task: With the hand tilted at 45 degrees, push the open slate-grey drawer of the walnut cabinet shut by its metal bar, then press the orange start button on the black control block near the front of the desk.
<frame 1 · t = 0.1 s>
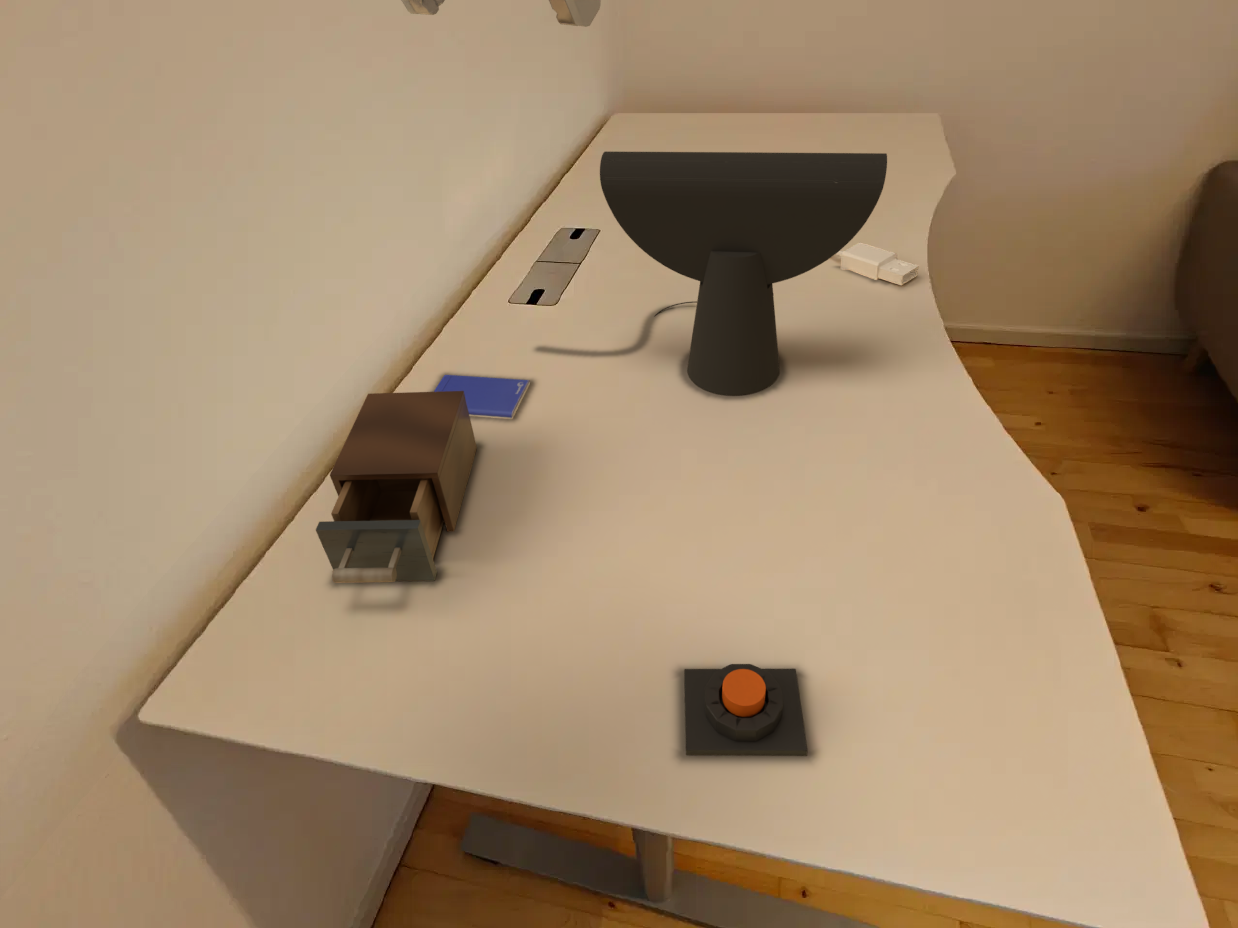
hand: (502, 11, 40), 55 cm above the table, tool tilted 30°, fingers open, 8 cm apart
table lamp: (692, 363, 114), on the table
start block: (742, 718, 71), on the table
cabinet: (419, 493, 96), on the table
start button: (743, 692, 69), point 4 cm above the table, slide at 0.1 cm
drawer: (388, 523, 86), point 5 cm above the table, slide at 6.0 cm
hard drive: (479, 403, 110), on the table
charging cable: (826, 258, 135), on the table
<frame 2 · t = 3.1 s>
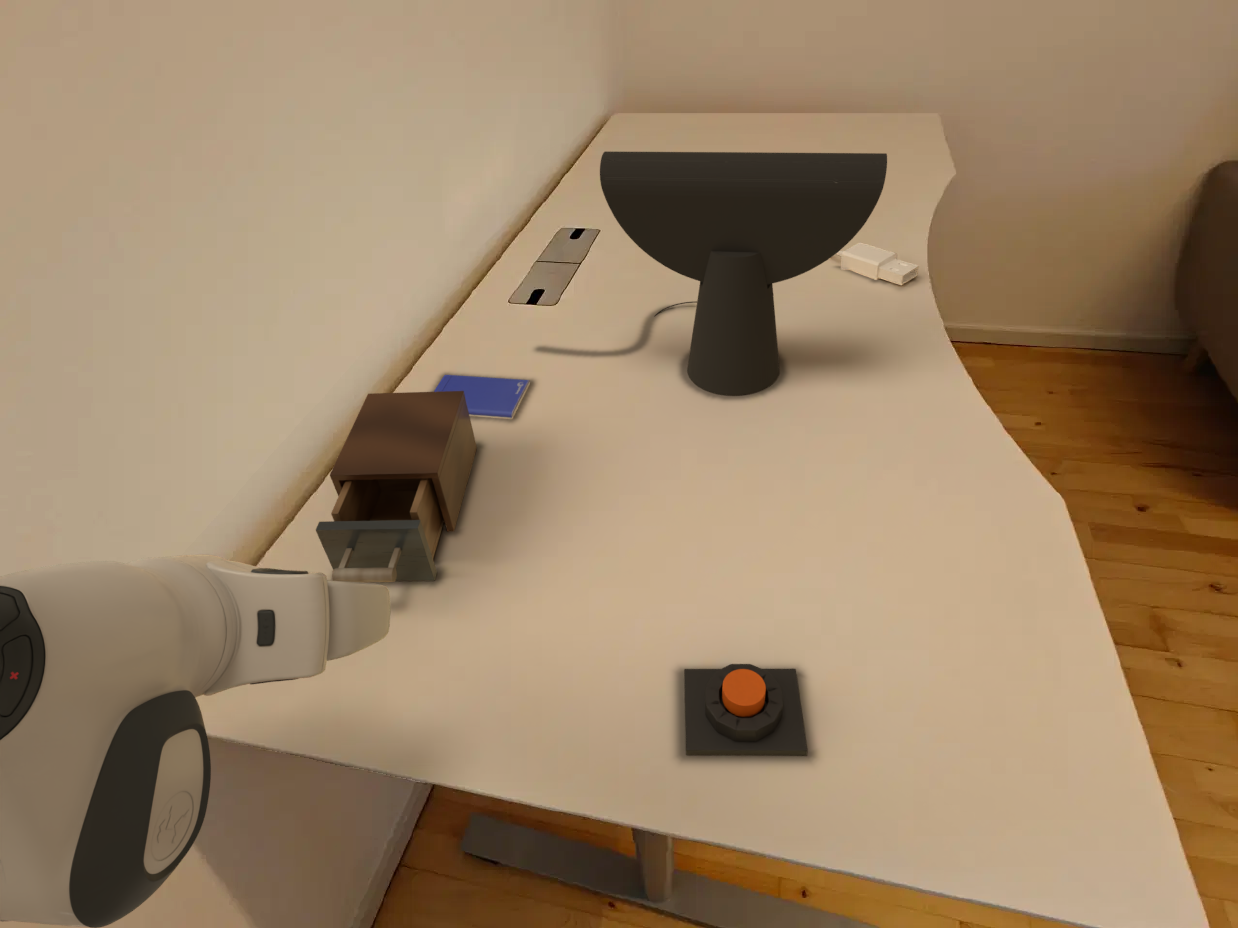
hand: (291, 603, 64), 15 cm above the table, tool tilted 45°, fingers closed
nothing on the table moved.
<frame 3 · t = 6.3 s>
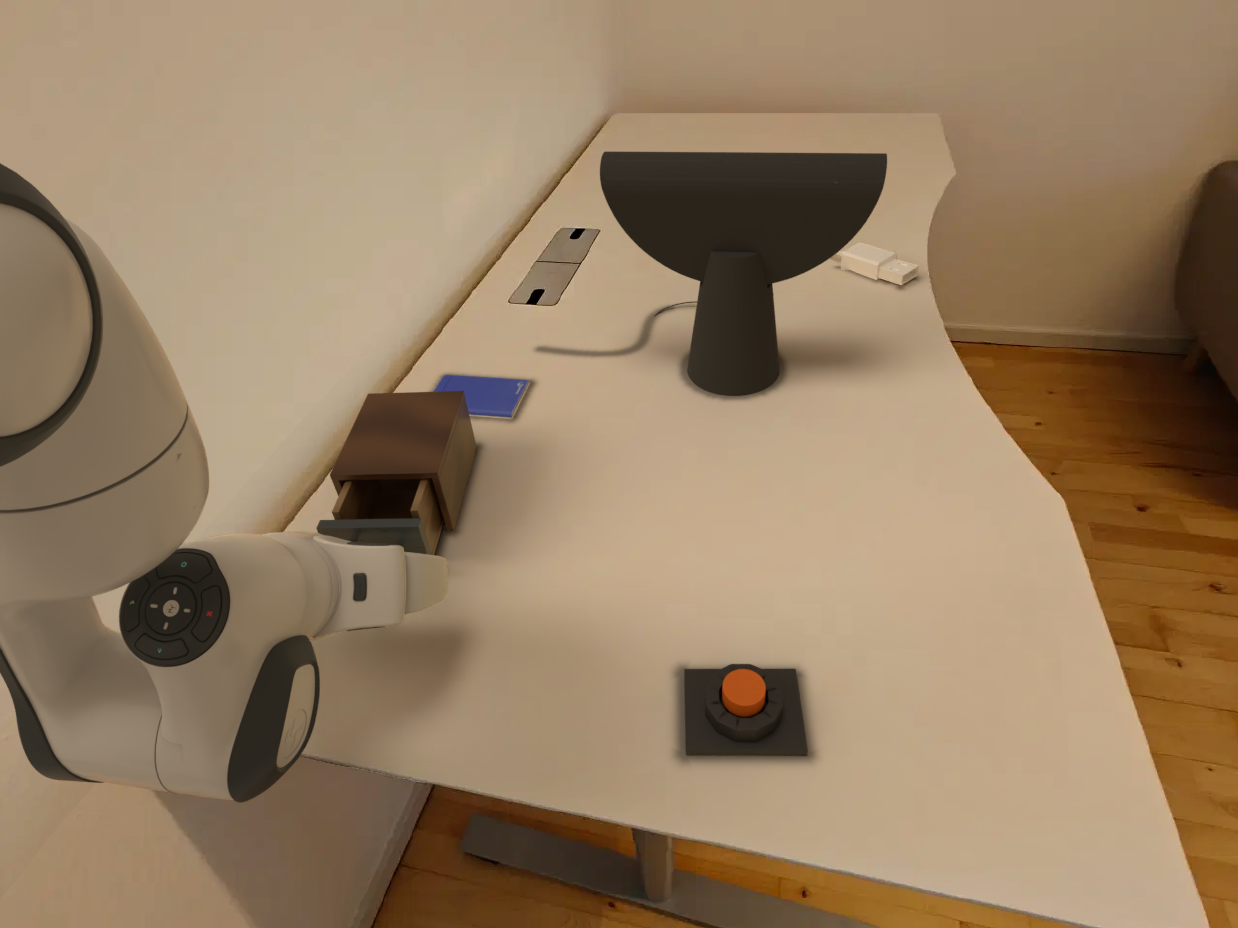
hand: (362, 574, 79), 6 cm above the table, tool tilted 45°, fingers closed, pressing on drawer
drawer: (389, 521, 86), point 5 cm above the table, slide at 5.8 cm, touching gripper
everything else where it was.
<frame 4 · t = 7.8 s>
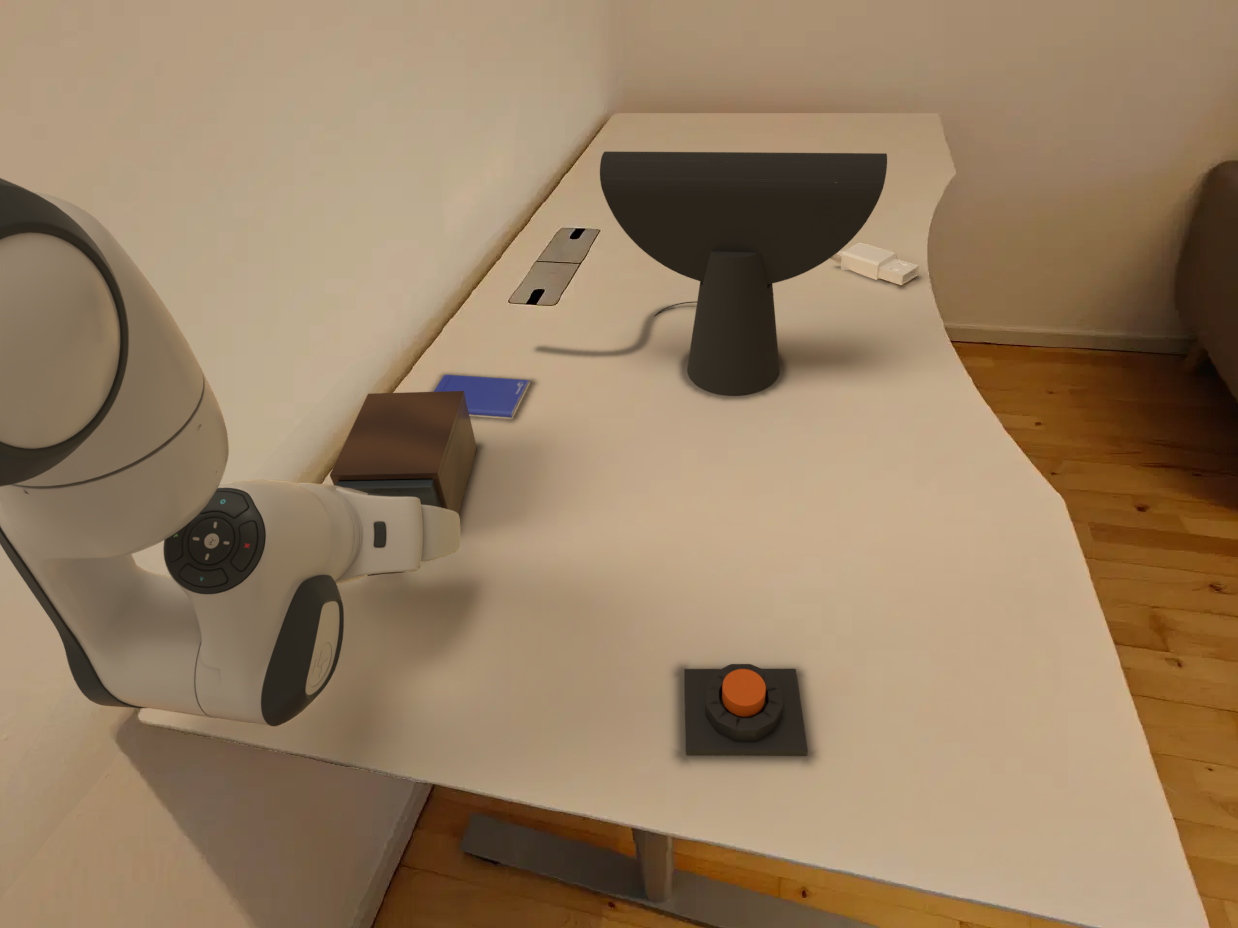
hand: (378, 531, 83), 6 cm above the table, tool tilted 45°, fingers closed, pressing on drawer
drawer: (402, 485, 90), point 5 cm above the table, slide at 0.0 cm, touching cabinet, gripper
everything else where it was.
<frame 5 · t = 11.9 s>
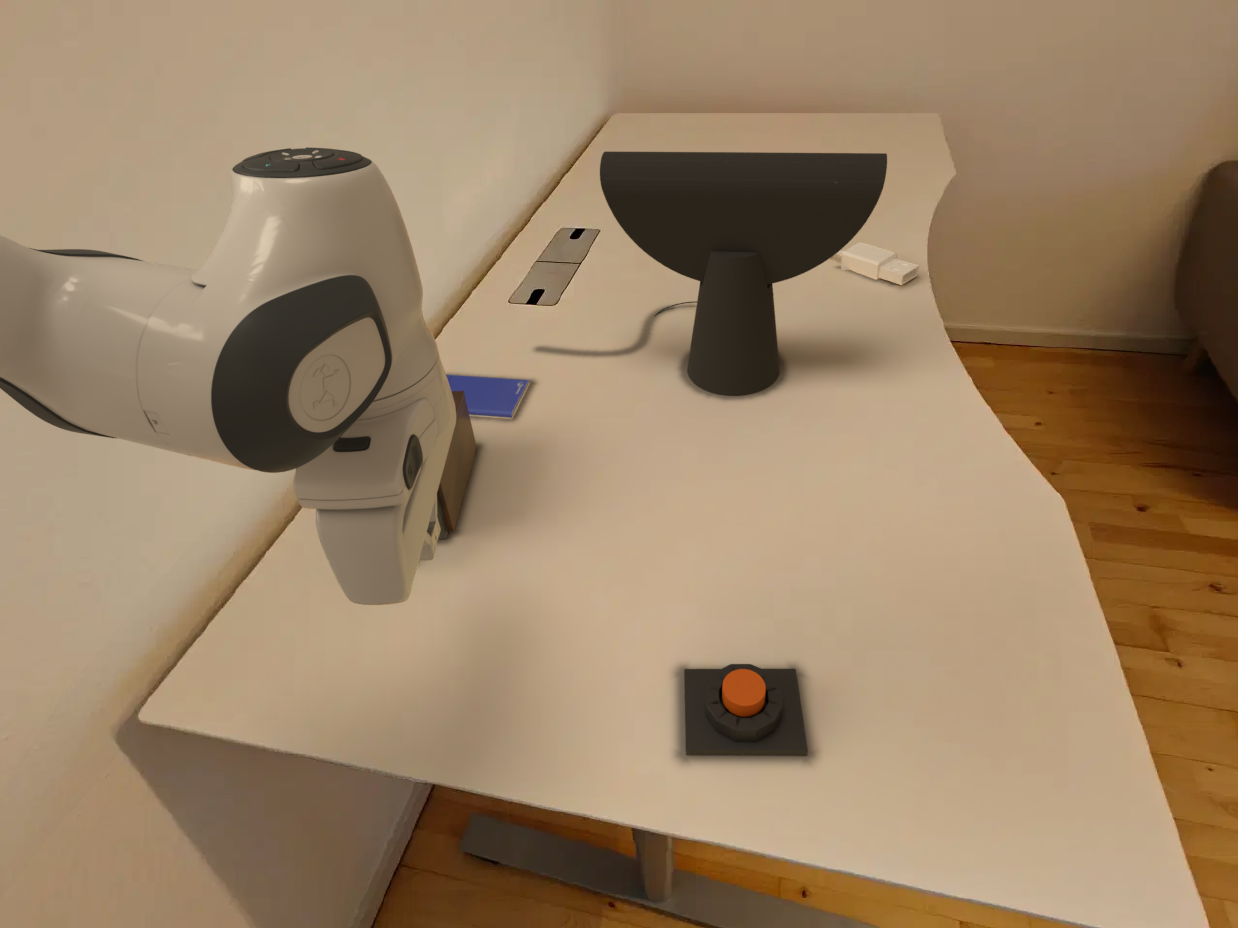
hand: (427, 546, 62), 20 cm above the table, tool pointing down, fingers closed
drawer: (402, 485, 90), point 5 cm above the table, slide at 0.0 cm, touching cabinet
everything else where it was.
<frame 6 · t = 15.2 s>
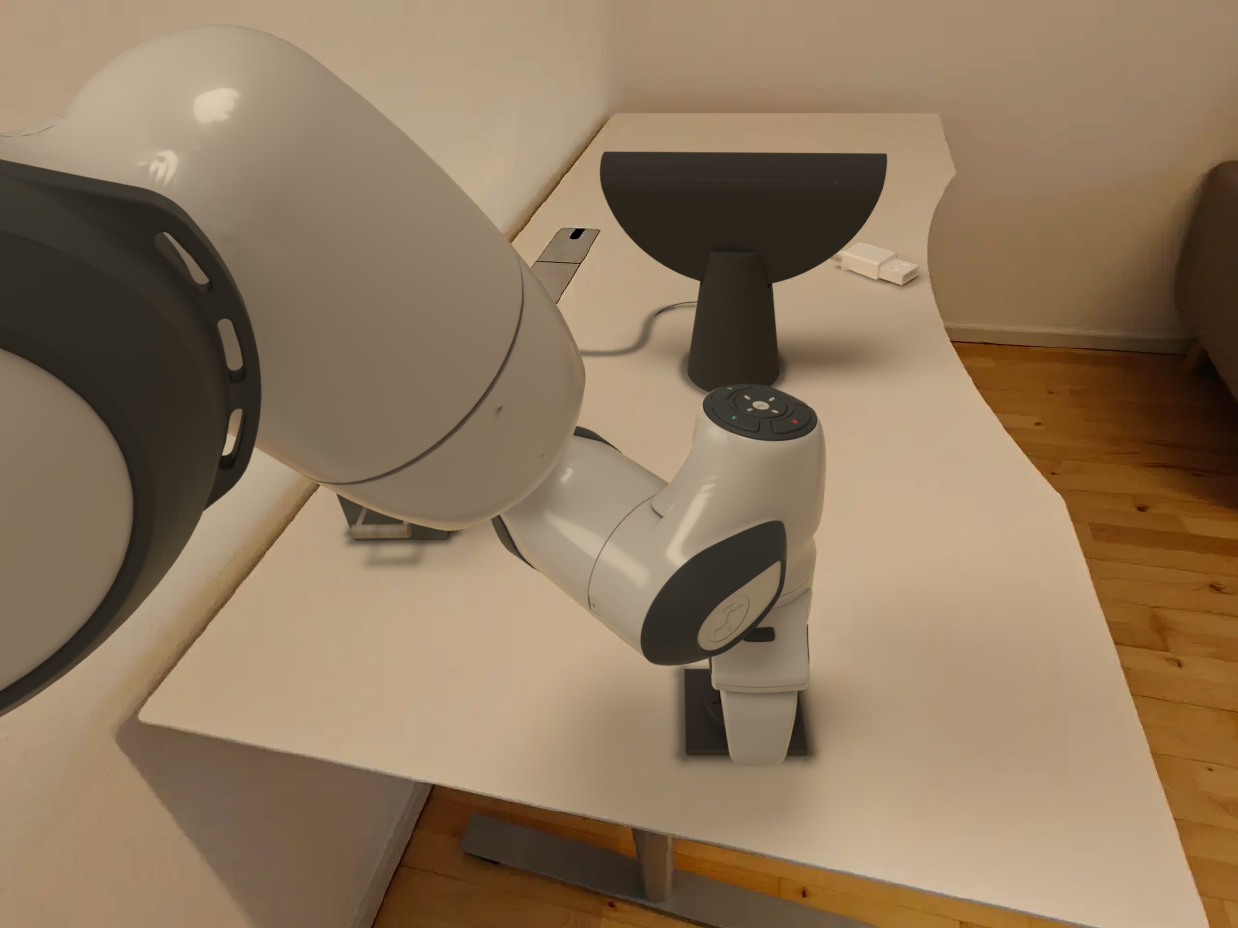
hand: (744, 687, 68), 5 cm above the table, tool pointing down, fingers closed, pressing on start button
start button: (743, 694, 69), point 4 cm above the table, slide at -0.2 cm, touching gripper
everything else where it was.
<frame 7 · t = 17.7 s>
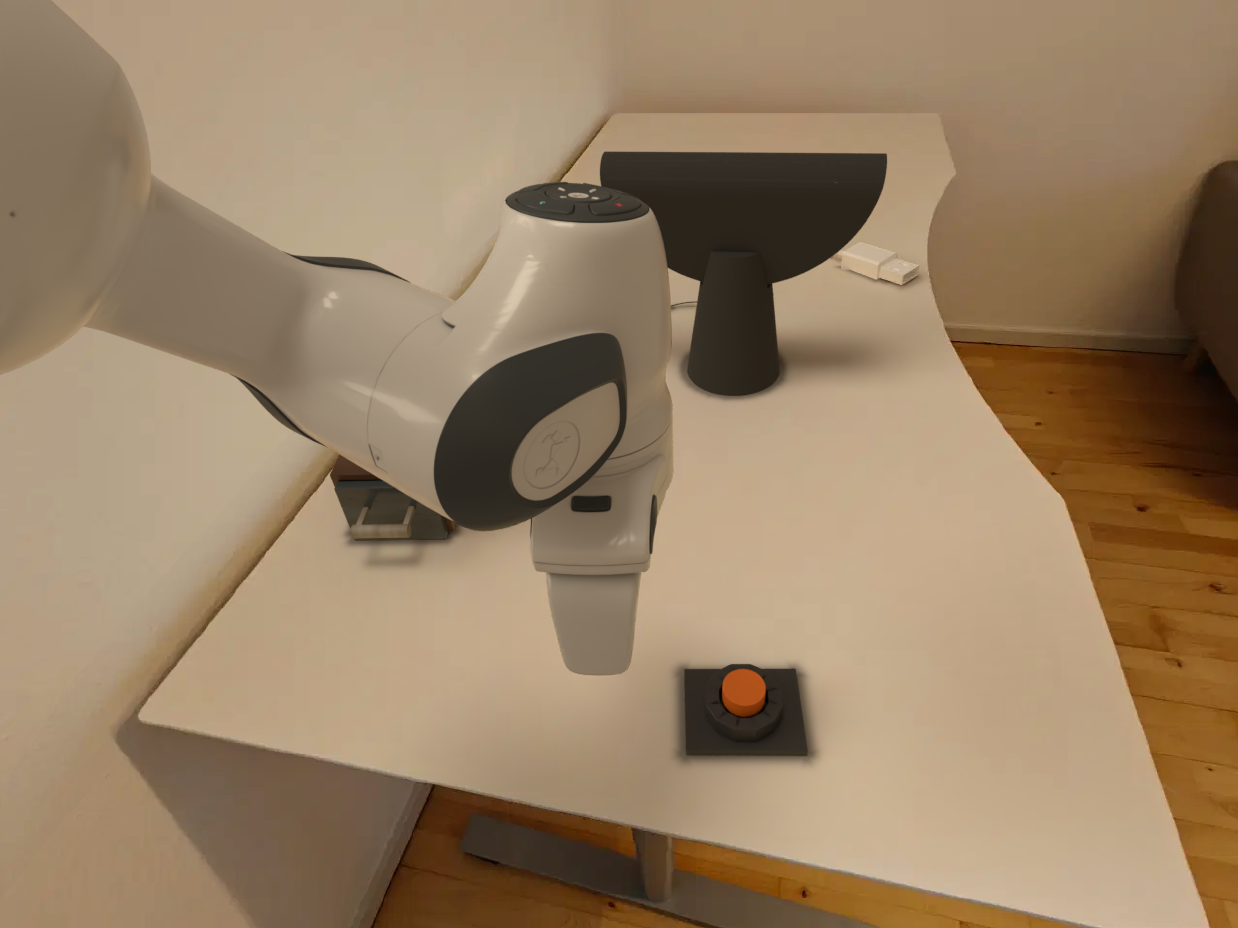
hand: (613, 602, 58), 19 cm above the table, tool pointing down, fingers closed
start button: (743, 692, 69), point 4 cm above the table, slide at 0.1 cm
everything else where it was.
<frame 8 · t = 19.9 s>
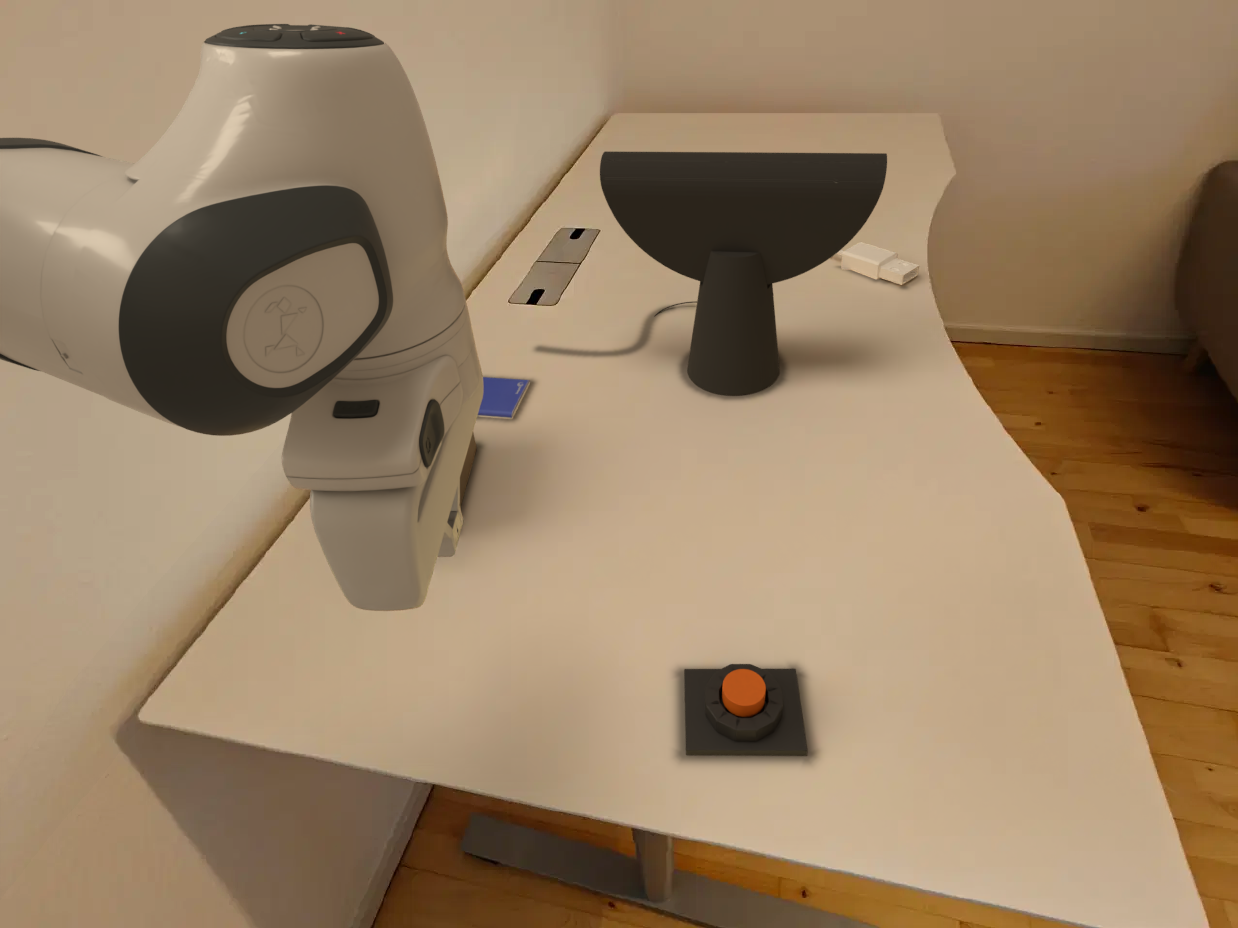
hand: (447, 540, 52), 27 cm above the table, tool pointing down, fingers closed
nothing on the table moved.
at the end: drawer slide at 0.0 cm; start button pushed in 1.0 cm at the most during the clip, back to where it started at the end; start button slide at 0.1 cm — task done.
